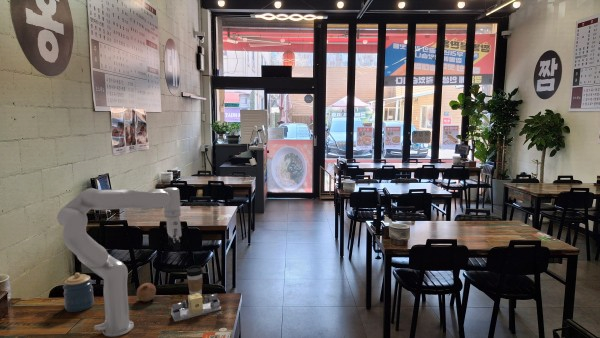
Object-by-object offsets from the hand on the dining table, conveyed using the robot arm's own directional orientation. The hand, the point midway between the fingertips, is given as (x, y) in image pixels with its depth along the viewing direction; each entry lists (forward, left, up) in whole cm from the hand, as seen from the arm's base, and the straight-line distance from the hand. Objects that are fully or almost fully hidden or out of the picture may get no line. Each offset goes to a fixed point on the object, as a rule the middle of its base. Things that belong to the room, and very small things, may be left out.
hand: (174, 247), depth 192 cm
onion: (-12, +16, -31) cm, 36 cm away
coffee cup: (+11, +7, -31) cm, 33 cm away
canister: (-42, +27, -31) cm, 59 cm away
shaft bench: (+6, -11, -30) cm, 33 cm away
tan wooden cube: (+6, -11, -29) cm, 32 cm away
